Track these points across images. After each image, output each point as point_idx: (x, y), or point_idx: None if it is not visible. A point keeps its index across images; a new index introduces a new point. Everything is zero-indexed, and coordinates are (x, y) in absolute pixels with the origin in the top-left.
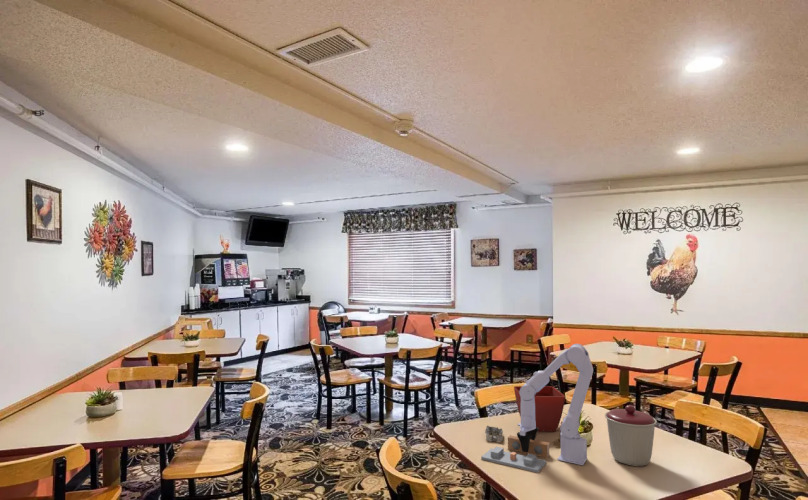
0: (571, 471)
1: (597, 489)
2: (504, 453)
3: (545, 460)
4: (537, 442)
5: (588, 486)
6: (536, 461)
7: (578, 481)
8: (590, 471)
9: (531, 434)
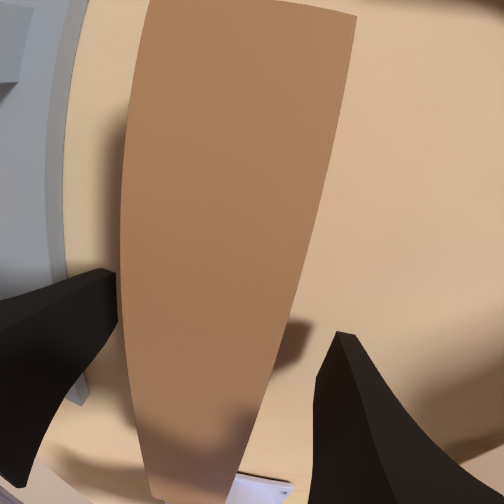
0: (89, 452)
1: (39, 454)
2: (15, 92)
3: (79, 404)
4: (164, 468)
5: None
6: None
7: None
8: (137, 493)
9: (332, 489)
